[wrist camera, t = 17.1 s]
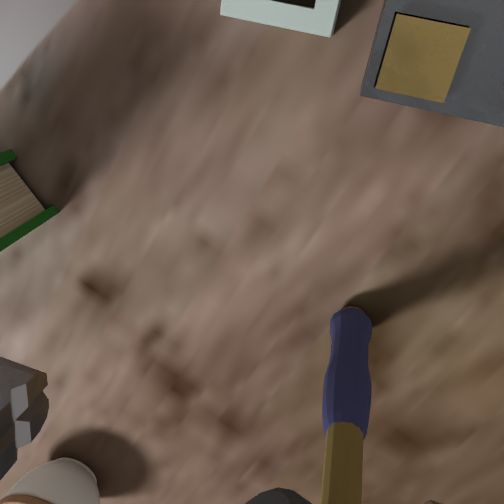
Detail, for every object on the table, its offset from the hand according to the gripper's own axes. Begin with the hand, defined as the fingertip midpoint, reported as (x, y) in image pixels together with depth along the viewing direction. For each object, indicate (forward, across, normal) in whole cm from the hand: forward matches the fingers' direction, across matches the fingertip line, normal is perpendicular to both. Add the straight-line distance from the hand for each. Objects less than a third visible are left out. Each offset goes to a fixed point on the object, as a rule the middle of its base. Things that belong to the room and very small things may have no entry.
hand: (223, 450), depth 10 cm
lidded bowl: (+32, +24, +57) cm, 70 cm away
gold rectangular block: (+33, -4, -6) cm, 33 cm away
